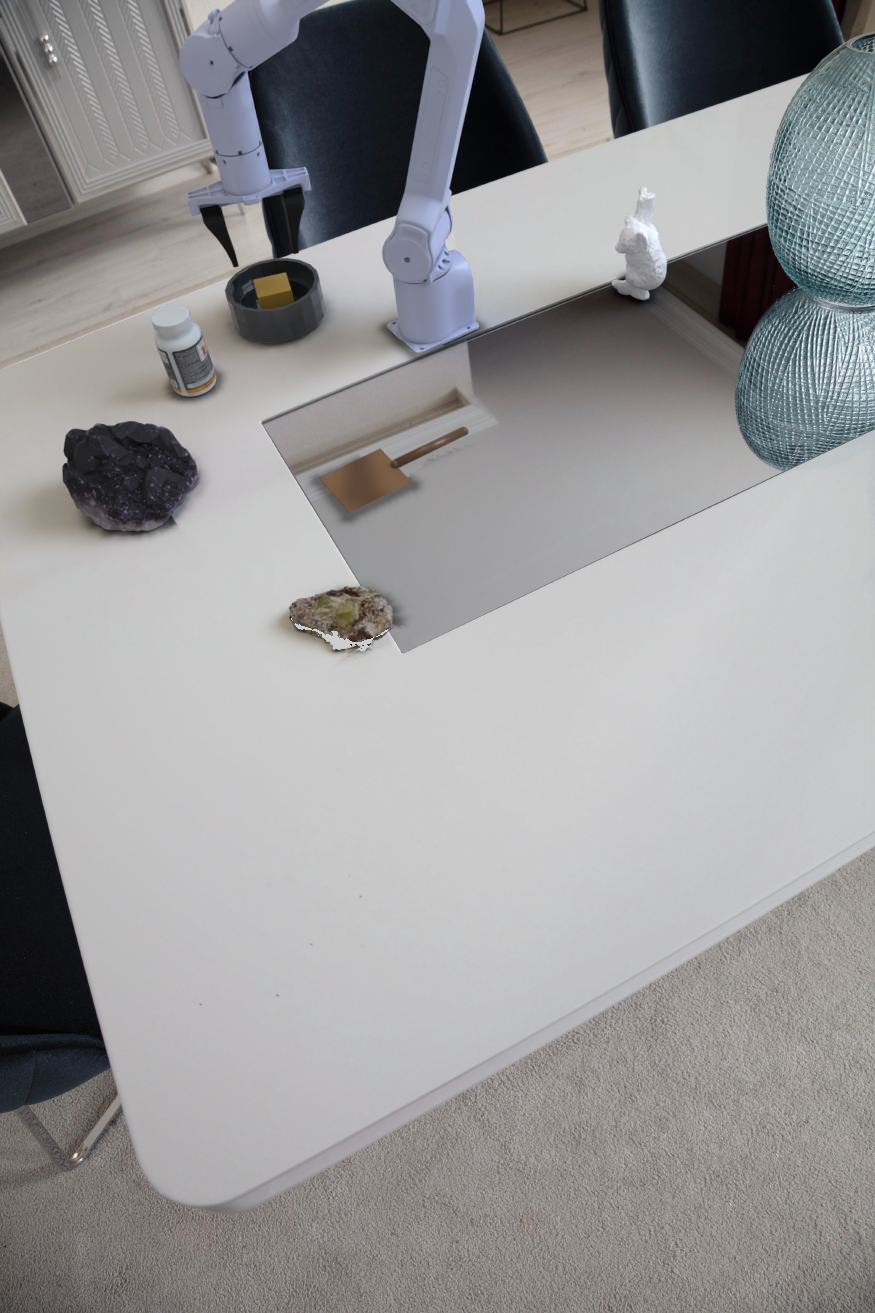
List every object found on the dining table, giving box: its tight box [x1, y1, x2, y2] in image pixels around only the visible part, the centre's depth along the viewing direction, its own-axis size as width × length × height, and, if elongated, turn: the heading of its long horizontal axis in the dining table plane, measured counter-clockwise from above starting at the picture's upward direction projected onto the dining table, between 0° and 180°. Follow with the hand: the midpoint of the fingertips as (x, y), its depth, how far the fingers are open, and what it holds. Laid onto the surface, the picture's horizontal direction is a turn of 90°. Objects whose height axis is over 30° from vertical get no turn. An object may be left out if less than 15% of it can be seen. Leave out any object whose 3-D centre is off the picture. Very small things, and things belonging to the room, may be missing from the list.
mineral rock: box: [288, 584, 395, 649], centre depth 90 cm, size 11×4×8 cm
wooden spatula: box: [318, 426, 469, 514], centre depth 104 cm, size 18×7×1 cm, turn 122°
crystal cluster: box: [61, 420, 200, 533], centre depth 102 cm, size 13×14×10 cm
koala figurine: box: [611, 186, 668, 301], centre depth 116 cm, size 8×7×12 cm
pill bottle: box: [150, 302, 217, 398], centre depth 112 cm, size 6×6×10 cm
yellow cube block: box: [253, 273, 294, 309], centre depth 121 cm, size 4×4×4 cm
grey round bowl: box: [224, 257, 326, 344], centre depth 122 cm, size 12×12×5 cm
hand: (265, 256), depth 117 cm, fingers open, 7 cm apart
